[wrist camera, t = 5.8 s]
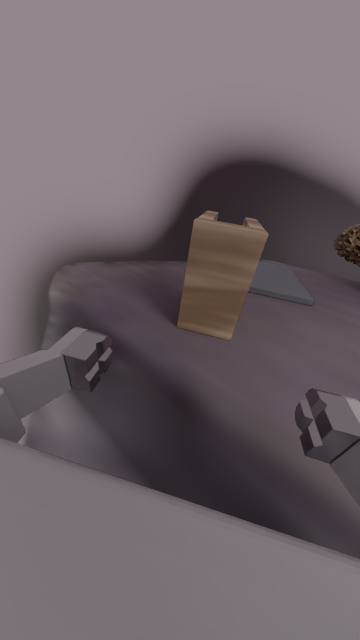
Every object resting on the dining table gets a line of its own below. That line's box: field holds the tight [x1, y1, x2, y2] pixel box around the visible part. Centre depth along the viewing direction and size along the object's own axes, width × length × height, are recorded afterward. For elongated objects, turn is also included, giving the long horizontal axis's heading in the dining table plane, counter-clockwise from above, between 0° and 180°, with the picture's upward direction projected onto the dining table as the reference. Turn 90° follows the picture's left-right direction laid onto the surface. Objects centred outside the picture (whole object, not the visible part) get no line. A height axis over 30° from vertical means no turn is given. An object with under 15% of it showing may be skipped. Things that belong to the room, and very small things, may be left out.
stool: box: [177, 211, 268, 340], centre depth 22 cm, size 9×6×10 cm, turn 167°
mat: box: [248, 261, 314, 306], centre depth 37 cm, size 16×11×1 cm
